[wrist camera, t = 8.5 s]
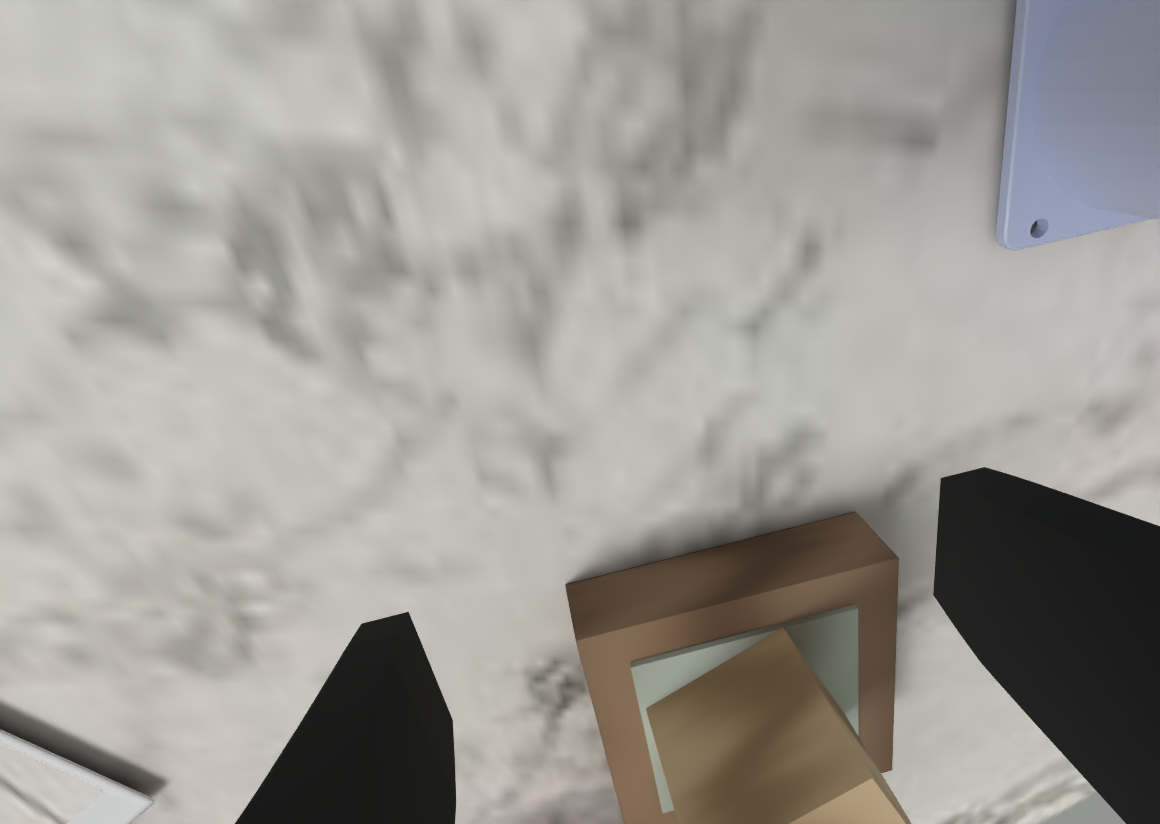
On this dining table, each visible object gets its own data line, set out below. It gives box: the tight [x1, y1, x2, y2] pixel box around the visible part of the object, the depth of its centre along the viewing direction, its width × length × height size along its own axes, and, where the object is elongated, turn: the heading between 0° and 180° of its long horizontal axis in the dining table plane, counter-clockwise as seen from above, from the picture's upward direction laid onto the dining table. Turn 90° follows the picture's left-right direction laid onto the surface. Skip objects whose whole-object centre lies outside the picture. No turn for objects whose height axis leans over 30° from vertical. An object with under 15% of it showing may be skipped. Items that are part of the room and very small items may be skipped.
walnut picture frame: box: [565, 512, 899, 824], centre depth 23 cm, size 10×10×3 cm
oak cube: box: [646, 628, 911, 824], centre depth 19 cm, size 5×5×5 cm
